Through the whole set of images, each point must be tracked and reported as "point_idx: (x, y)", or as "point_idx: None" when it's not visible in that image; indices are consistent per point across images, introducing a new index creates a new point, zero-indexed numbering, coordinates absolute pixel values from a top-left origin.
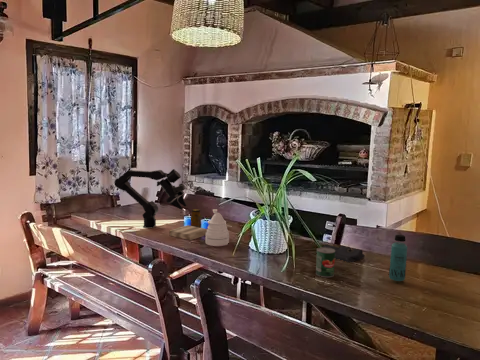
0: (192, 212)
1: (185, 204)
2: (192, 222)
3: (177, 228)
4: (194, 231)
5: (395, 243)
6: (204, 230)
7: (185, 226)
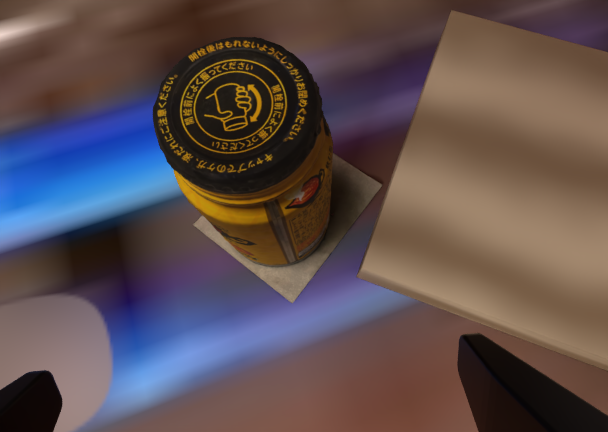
0: (307, 161)
1: (23, 400)
2: (325, 210)
3: (571, 333)
4: (602, 100)
5: None
6: (513, 27)
7: (430, 273)
